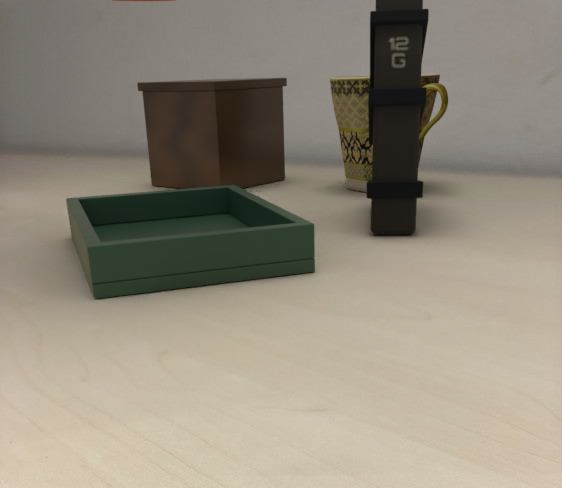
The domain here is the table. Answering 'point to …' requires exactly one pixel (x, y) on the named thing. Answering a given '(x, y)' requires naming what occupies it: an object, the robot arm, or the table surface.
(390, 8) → the magazine
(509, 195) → the table surface
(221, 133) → the stand
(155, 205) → the tray
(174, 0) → the hat
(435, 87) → the ceramic cup
